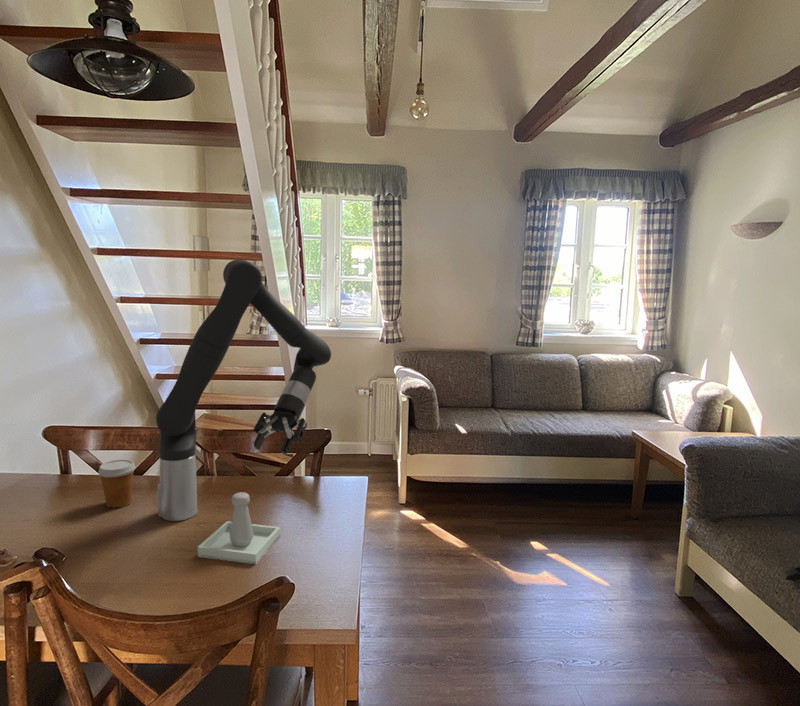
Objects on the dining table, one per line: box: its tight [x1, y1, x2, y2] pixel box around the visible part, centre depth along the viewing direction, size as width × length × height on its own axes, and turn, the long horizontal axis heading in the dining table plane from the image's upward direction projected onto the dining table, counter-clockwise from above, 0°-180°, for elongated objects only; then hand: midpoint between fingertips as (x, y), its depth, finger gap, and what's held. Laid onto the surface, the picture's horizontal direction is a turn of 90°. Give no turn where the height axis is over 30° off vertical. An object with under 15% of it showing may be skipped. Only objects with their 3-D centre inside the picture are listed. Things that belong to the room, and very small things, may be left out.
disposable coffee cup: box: [97, 459, 136, 509], centre depth 154 cm, size 10×10×12 cm
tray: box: [197, 520, 281, 565], centre depth 133 cm, size 15×14×2 cm
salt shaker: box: [230, 491, 254, 548], centre depth 132 cm, size 6×6×13 cm
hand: (269, 450), depth 142 cm, fingers open, 8 cm apart
